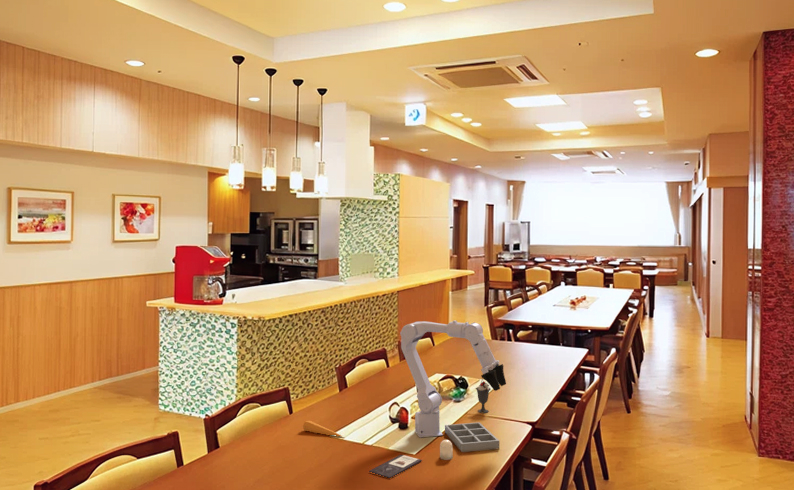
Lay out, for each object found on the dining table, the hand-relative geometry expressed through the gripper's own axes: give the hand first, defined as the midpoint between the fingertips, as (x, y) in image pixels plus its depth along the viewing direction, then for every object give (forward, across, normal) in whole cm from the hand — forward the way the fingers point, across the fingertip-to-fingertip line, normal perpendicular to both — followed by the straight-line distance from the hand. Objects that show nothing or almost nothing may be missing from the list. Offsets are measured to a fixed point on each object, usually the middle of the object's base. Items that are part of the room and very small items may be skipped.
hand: (500, 387), depth 217 cm
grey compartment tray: (+14, 0, +20) cm, 25 cm away
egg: (+13, -20, +22) cm, 32 cm away
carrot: (-12, -18, +69) cm, 72 cm away
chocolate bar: (+8, -34, +34) cm, 49 cm away
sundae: (+10, +37, +27) cm, 47 cm away
